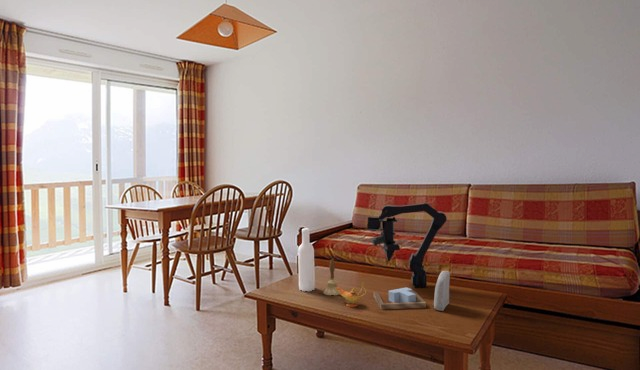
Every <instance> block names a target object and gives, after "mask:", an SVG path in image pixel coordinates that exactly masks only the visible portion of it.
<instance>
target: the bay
mask: <svg viewBox="0 0 640 370" xmlns="http://www.w3.org/2000/svg"><path fill="white" fill-rule="evenodd" d="M412 293H414V294H416V302H403V303H401V302H397V303H393V302H386V303H385V302H384V301H383V300H382V297H381V296H380V295H379V293H378V292H377V291H374V292H373V298H374V300H375V302H376V303H377V305H378V306H379V308H380V309H381V310H397V309H398V310H399V309H401V310H402V309H421V308H422V309H423V308H424V309H425V308H427V302H426V301H425V300H424V299H423V298H422V297H421V296H420V295H419V294H418V292H417V291H416V290H412Z"/></svg>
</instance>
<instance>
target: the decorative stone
mask: <svg viewBox="0 0 640 370" xmlns="http://www.w3.org/2000/svg"><path fill="white" fill-rule="evenodd" d="M450 276H451V273H450V271H449V270H442V271H441V272H440V273H439V275H438V278H437V280H436V284H435V287H434V297H433V298H434V299H433V307H434V310H436V311H440V312H444V310H445V309H446V308H447V306H448V305H449V304H450V282H451V281H450V279H451V277H450Z"/></svg>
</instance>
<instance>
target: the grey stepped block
mask: <svg viewBox="0 0 640 370" xmlns="http://www.w3.org/2000/svg"><path fill="white" fill-rule="evenodd" d="M412 291H413V289H412V288H410V287H400V288H396V289H395V288H394V289H391V290H388V301H389V302H390V303H403V302H417V301H416V294H414V293H412Z"/></svg>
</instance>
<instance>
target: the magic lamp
mask: <svg viewBox="0 0 640 370" xmlns="http://www.w3.org/2000/svg"><path fill="white" fill-rule="evenodd" d="M332 286H333V287H334V288H335V289H336V290H337V291H338V292H339V293H340V294H339V295H340V296H342V297H343V299H345V301H348V302H347V303H346V305H345V306H347V307H349V308H350V307H352V308H354V307H355V308H356V307H357V306H359V304H358V303H357V301H360V298H361V297H363V296H365V295H366V294H367V290H366V288H365V282H364V281H363V282H361V289H360V291H359V292H357V290H356V288H354V287H353V288H352V289H351V290H350V291H347V290H344V289H342V288H341V287H340V286H338V285H337V286H336V285H332ZM363 290H364V292H365V293H363V294H362V295H360V294H361V293H362V291H363Z"/></svg>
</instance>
